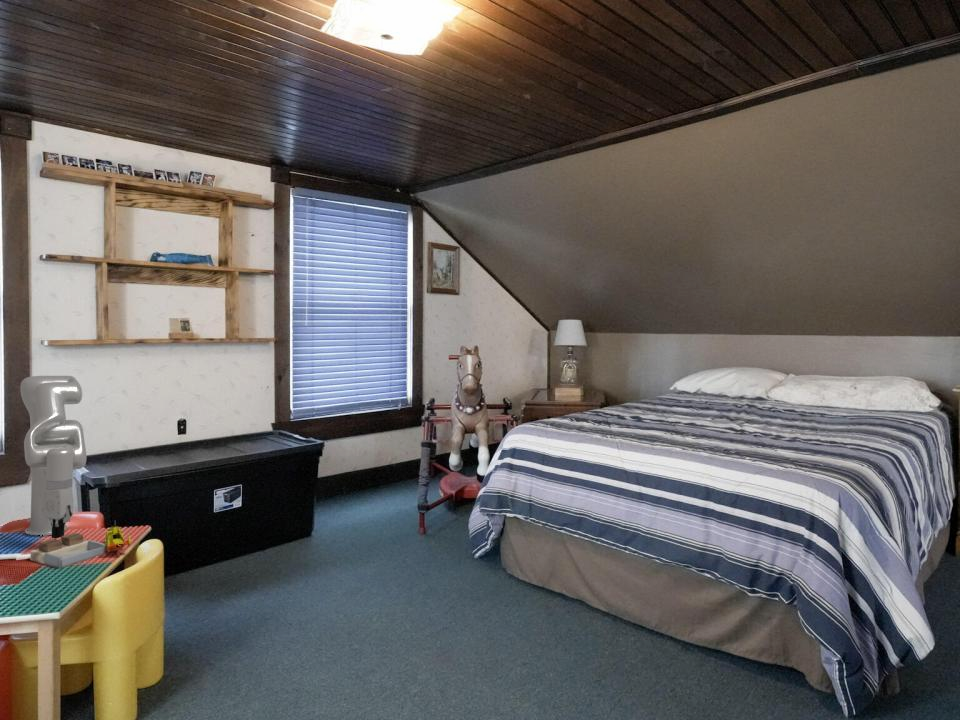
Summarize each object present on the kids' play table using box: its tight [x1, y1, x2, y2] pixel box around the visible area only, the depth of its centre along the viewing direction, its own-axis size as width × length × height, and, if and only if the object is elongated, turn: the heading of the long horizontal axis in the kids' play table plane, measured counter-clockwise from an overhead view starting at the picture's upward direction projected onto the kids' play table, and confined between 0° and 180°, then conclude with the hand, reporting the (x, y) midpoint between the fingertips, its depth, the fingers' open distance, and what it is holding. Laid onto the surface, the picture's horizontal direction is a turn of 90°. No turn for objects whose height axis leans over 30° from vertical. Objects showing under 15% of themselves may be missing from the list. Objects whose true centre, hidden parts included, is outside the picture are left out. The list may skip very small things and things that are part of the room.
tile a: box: [60, 532, 84, 546], centre depth 206 cm, size 4×4×2 cm
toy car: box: [104, 520, 131, 556], centre depth 210 cm, size 6×18×10 cm, turn 40°
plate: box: [30, 539, 89, 565], centre depth 202 cm, size 7×15×3 cm, turn 157°
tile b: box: [38, 538, 62, 553], centre depth 199 cm, size 4×4×2 cm
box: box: [43, 539, 106, 570], centre depth 200 cm, size 8×15×4 cm, turn 157°
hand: (57, 537), depth 208 cm, fingers closed
